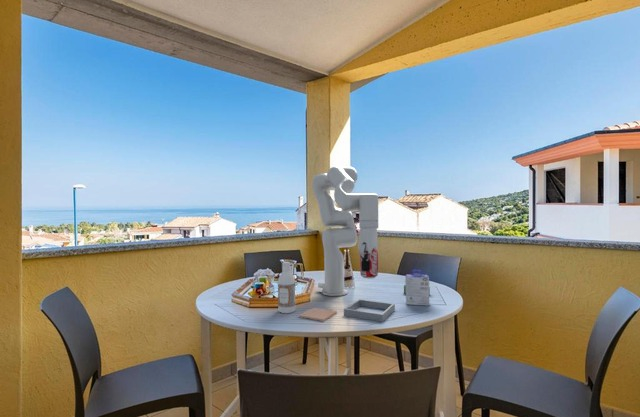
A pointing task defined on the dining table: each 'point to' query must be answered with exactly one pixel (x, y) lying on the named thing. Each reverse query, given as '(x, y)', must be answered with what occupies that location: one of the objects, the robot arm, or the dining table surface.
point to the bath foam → (286, 290)
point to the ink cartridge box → (417, 289)
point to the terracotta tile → (318, 314)
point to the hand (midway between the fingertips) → (369, 268)
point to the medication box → (405, 289)
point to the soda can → (371, 265)
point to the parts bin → (369, 315)
